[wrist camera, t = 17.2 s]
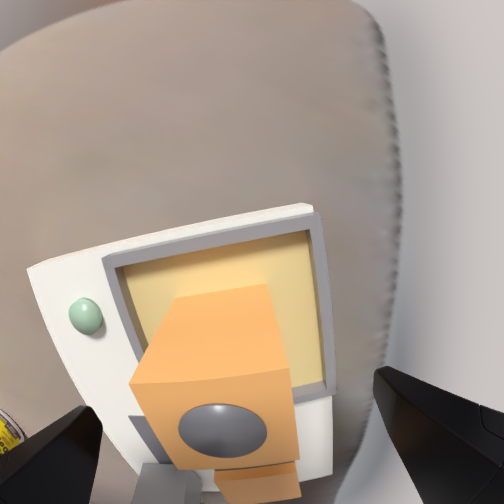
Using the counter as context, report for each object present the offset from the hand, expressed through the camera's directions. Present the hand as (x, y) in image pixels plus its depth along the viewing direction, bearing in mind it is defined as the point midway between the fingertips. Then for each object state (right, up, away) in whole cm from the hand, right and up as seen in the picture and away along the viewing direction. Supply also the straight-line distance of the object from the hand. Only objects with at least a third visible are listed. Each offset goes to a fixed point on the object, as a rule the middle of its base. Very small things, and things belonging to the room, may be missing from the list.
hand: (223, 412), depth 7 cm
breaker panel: (-2, -4, +9) cm, 10 cm away
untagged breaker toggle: (-5, -12, +8) cm, 15 cm away
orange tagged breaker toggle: (+1, -5, +7) cm, 9 cm away
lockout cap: (0, +1, +5) cm, 5 cm away
